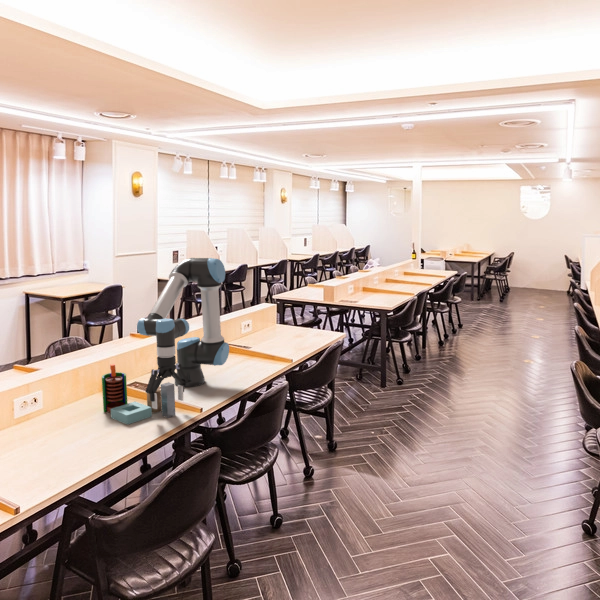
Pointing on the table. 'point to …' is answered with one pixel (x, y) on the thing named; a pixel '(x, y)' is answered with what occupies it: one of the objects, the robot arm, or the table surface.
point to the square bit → (168, 400)
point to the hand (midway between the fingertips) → (168, 404)
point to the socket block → (131, 412)
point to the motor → (114, 389)
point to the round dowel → (159, 407)
